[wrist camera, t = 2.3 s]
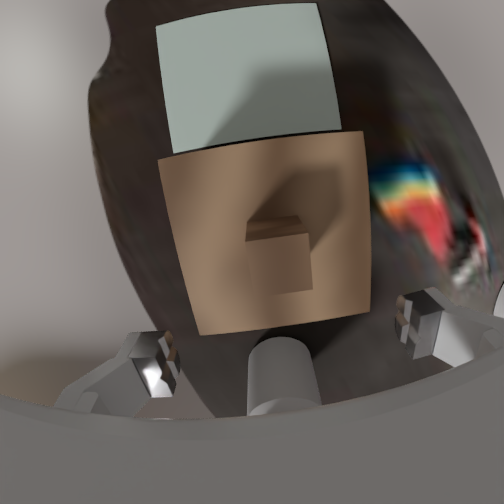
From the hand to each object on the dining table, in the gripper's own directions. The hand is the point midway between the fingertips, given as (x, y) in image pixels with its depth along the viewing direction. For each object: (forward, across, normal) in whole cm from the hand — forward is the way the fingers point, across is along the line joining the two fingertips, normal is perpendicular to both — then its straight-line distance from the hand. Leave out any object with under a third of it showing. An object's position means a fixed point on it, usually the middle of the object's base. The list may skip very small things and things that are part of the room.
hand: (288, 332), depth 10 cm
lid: (+11, 0, 0) cm, 11 cm away
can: (+20, 0, +18) cm, 27 cm away
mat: (+20, 0, -14) cm, 24 cm away
